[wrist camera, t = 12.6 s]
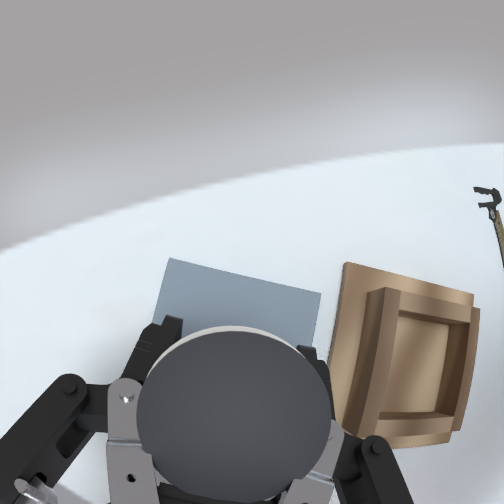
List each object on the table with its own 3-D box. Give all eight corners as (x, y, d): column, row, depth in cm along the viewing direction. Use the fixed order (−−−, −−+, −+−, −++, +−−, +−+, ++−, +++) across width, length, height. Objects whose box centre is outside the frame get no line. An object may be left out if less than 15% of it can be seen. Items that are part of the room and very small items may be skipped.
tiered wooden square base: (469, 295, 21) (493, 289, 18) (444, 440, 17) (467, 448, 14) (344, 263, 20) (363, 252, 17) (307, 446, 17) (321, 463, 14)
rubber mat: (318, 294, 20) (321, 293, 19) (280, 462, 16) (282, 465, 16) (170, 259, 19) (169, 257, 19) (132, 432, 16) (130, 434, 15)
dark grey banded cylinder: (280, 339, 17) (355, 345, 7) (260, 424, 15) (308, 513, 6) (190, 319, 17) (153, 301, 7) (171, 405, 15) (120, 482, 6)
